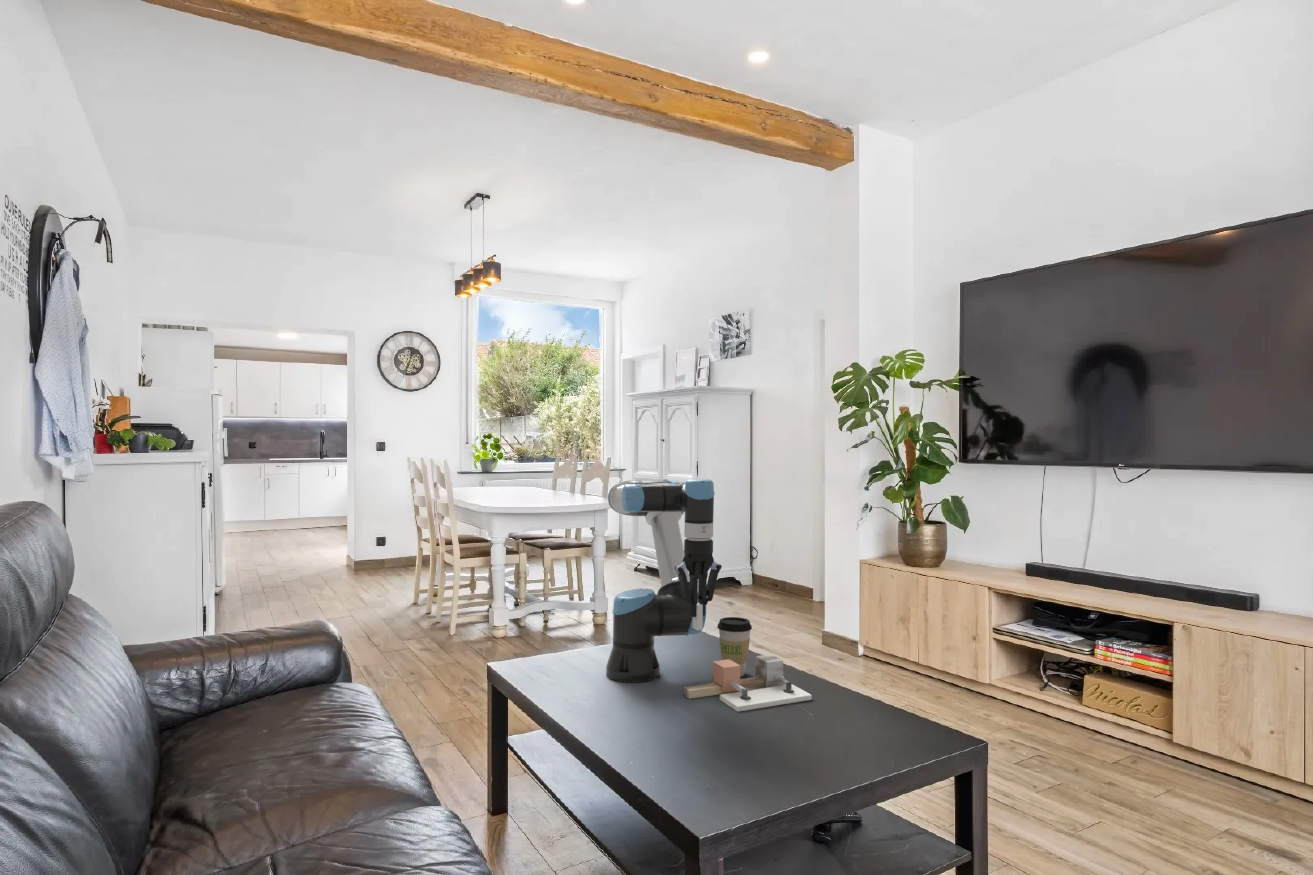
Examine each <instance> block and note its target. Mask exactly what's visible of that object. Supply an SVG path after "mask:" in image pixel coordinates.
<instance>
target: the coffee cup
mask: <svg viewBox="0 0 1313 875" xmlns="http://www.w3.org/2000/svg"><path fill="white" fill-rule="evenodd" d="M716 628H717V629H718V631H719V636H718V638H719V640H718V641H719V648H720V657H721V659H720V660H727V659H730V660H731V661H733V662H735V663H737V664H738V665H740V677H743V676H745V674H746V668H747V662H748V657H749V650H750V649H749V648H750V642H751V641H750V640H751V638H750V635H751V630H752V629H753V627H752V624H751V621H750V620H749V619H748V618H745V617H739V616H729V617H723V618H722V617H721V618H720V619H719V622H718V624H717V626H716Z"/></svg>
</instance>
